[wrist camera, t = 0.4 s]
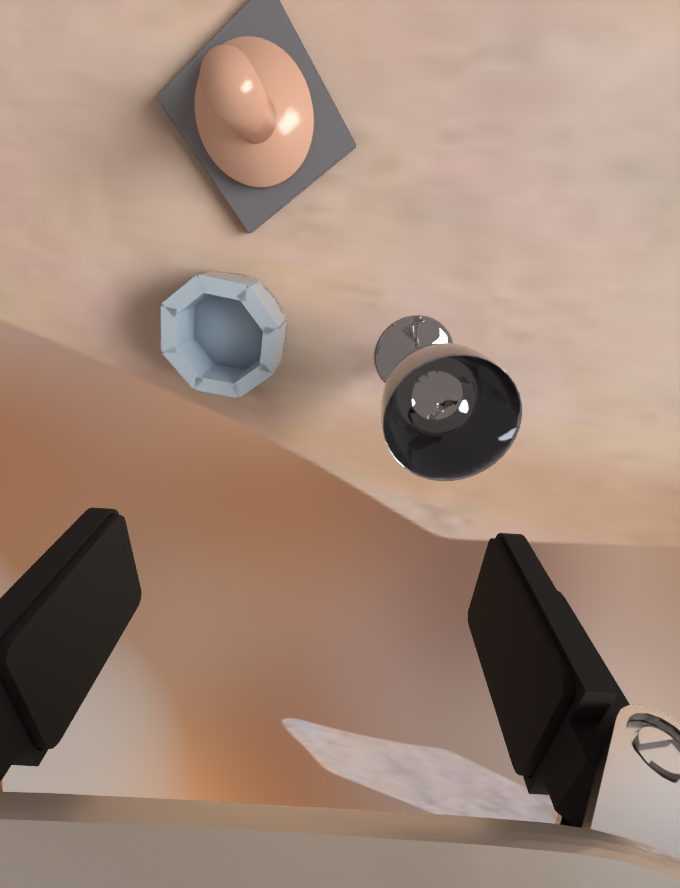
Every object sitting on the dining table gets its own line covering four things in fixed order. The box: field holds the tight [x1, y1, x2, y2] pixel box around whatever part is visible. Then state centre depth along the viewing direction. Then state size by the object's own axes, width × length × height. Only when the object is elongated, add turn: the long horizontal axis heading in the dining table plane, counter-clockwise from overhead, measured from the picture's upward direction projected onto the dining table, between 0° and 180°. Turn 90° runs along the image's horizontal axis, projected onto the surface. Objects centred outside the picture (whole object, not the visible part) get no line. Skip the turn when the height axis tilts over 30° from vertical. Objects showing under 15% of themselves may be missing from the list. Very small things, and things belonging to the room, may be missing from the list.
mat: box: [156, 0, 356, 233], centre depth 28 cm, size 10×10×1 cm
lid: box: [195, 36, 314, 188], centre depth 25 cm, size 8×8×8 cm
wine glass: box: [375, 316, 522, 481], centre depth 30 cm, size 8×8×15 cm
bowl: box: [161, 271, 287, 398], centre depth 33 cm, size 9×9×5 cm
